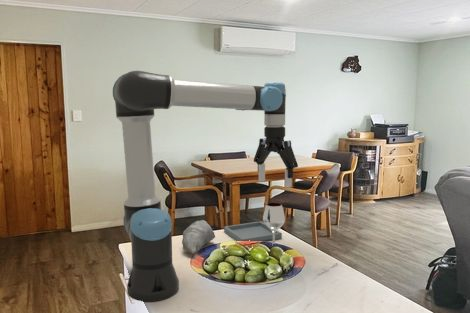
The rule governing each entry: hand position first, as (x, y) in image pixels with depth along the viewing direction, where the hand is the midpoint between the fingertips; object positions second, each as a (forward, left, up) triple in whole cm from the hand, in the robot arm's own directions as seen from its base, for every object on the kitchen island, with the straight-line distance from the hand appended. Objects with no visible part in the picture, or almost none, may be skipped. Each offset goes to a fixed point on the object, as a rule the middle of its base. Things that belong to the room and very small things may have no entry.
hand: (274, 184), depth 145 cm
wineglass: (0, 0, -26) cm, 26 cm away
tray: (-13, +14, -26) cm, 32 cm away
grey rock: (-28, -7, -26) cm, 39 cm away
